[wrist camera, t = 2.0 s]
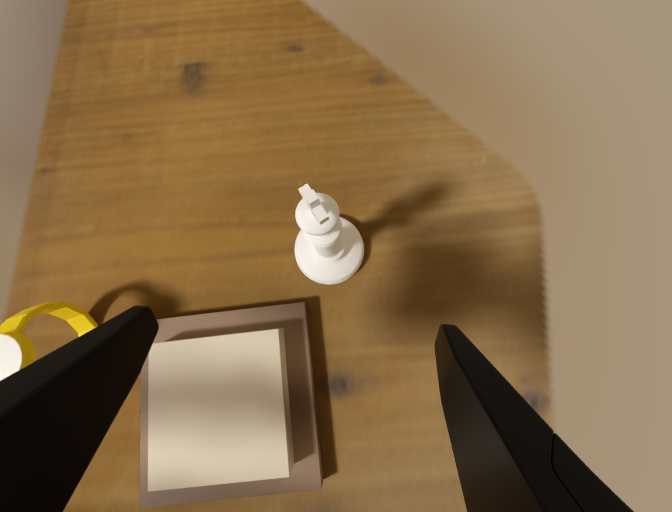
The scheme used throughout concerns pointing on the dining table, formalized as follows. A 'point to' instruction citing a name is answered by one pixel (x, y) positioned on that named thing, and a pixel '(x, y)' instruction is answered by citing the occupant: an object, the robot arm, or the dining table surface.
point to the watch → (17, 350)
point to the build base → (299, 398)
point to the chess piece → (326, 240)
